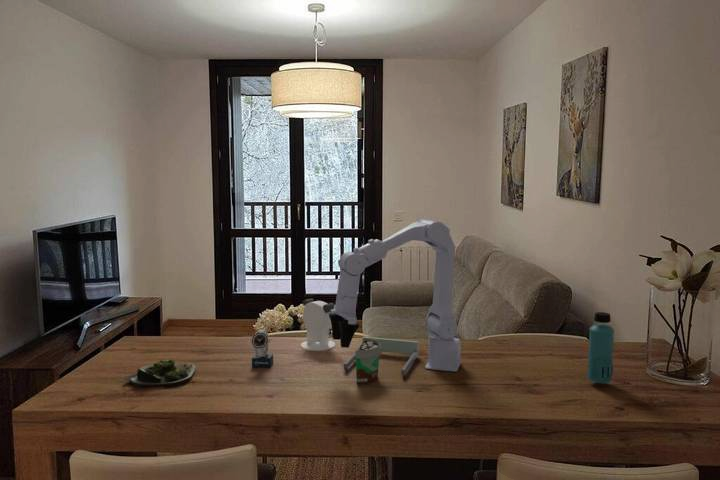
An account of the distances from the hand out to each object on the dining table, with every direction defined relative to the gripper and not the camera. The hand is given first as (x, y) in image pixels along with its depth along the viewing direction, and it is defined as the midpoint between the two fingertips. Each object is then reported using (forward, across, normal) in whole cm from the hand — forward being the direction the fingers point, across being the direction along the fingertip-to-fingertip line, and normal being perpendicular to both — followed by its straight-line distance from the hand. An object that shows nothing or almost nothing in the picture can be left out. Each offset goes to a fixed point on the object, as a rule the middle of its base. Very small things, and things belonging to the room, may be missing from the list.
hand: (340, 343), depth 167 cm
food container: (+9, +3, +10) cm, 14 cm away
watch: (+13, -18, -17) cm, 28 cm away
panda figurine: (+10, -32, +4) cm, 33 cm away
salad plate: (+18, -19, -45) cm, 52 cm away
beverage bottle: (+1, +28, +66) cm, 72 cm away
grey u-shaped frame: (+8, -7, +17) cm, 20 cm away
